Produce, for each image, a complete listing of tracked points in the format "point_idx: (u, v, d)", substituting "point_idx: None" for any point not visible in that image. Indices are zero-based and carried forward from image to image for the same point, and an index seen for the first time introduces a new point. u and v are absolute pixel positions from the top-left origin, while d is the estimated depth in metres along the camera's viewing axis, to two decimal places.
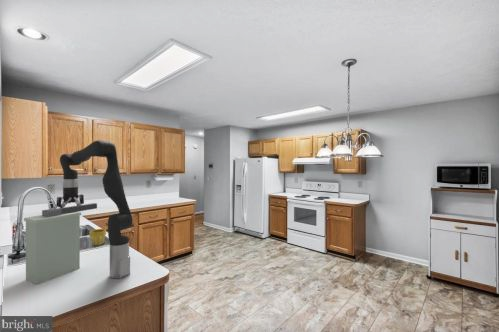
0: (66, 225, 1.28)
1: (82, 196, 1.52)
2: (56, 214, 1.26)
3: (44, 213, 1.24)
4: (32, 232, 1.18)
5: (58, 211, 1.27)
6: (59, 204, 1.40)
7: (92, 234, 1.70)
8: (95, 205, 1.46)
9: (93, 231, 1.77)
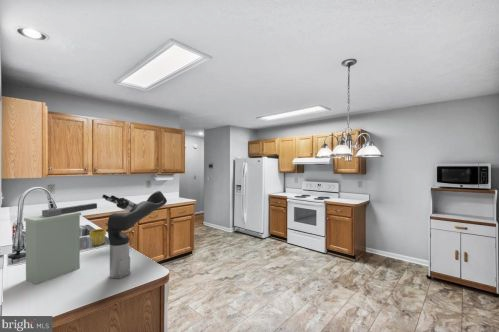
0: (66, 225, 1.28)
1: (111, 201, 1.72)
2: (56, 214, 1.26)
3: (44, 213, 1.24)
4: (32, 232, 1.18)
5: (58, 211, 1.27)
6: (119, 201, 1.64)
7: (92, 234, 1.70)
8: (95, 205, 1.46)
9: (93, 231, 1.77)
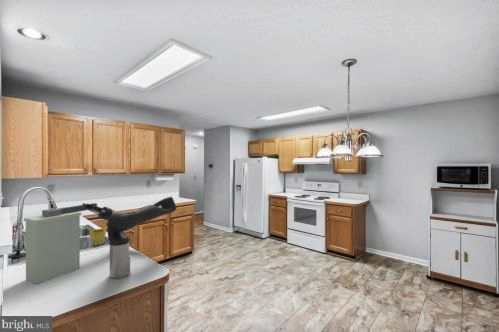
0: (66, 225, 1.28)
1: None
2: (56, 214, 1.26)
3: (44, 213, 1.24)
4: (32, 232, 1.18)
5: (58, 211, 1.27)
6: (96, 210, 1.44)
7: (92, 234, 1.70)
8: (95, 205, 1.46)
9: (93, 231, 1.77)
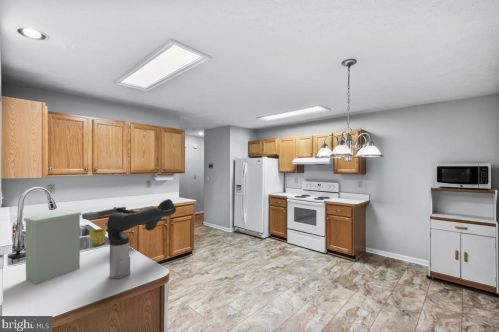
0: (66, 225, 1.28)
1: None
2: (94, 217, 1.44)
3: (84, 216, 1.42)
4: (32, 232, 1.18)
5: (96, 214, 1.45)
6: (126, 213, 1.62)
7: (92, 234, 1.70)
8: (124, 208, 1.64)
9: (93, 231, 1.77)
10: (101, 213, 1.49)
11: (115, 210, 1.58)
